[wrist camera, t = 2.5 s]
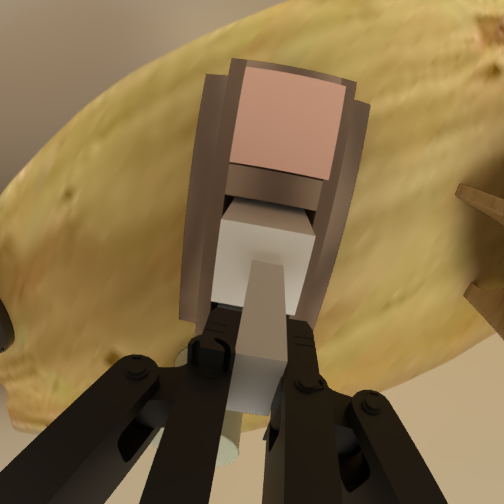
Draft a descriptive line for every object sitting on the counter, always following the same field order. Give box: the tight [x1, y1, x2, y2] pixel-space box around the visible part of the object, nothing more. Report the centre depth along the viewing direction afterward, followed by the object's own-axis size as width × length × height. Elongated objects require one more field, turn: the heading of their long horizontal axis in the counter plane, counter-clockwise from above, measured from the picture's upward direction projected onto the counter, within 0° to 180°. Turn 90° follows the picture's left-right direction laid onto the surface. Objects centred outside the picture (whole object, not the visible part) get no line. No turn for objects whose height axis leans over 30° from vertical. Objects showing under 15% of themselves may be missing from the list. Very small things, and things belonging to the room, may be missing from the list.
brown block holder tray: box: [179, 58, 370, 337], centre depth 23 cm, size 14×24×7 cm, turn 171°
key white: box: [211, 196, 316, 316], centre depth 19 cm, size 5×5×6 cm
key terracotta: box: [229, 67, 346, 180], centre depth 16 cm, size 5×5×6 cm
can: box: [151, 348, 243, 467], centre depth 28 cm, size 9×9×12 cm
